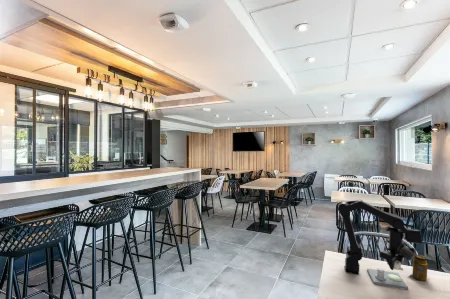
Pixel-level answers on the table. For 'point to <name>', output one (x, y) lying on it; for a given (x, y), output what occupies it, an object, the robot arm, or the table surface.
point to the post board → (386, 278)
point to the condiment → (419, 269)
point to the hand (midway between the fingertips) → (394, 268)
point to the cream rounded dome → (397, 265)
